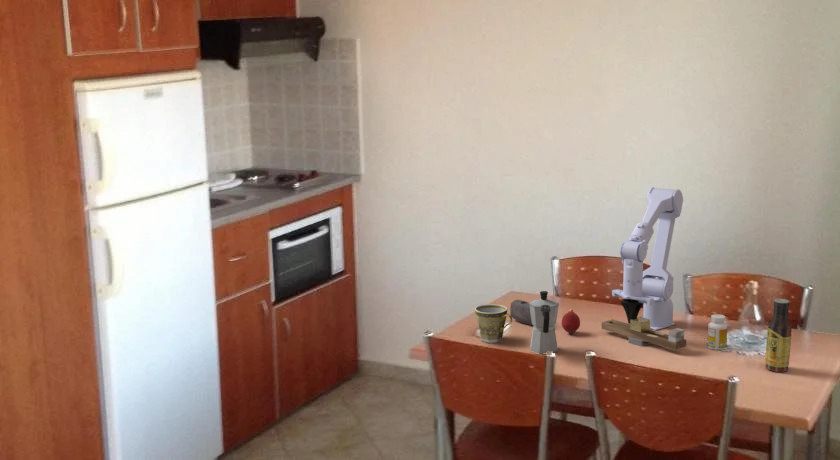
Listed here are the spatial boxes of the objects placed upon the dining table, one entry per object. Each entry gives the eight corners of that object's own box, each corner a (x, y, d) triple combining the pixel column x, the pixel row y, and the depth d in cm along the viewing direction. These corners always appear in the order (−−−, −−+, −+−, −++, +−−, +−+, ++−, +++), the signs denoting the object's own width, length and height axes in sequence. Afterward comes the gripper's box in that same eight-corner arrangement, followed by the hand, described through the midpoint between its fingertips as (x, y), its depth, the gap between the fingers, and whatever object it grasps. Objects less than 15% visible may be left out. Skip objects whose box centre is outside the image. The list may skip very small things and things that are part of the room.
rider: (639, 332, 291) (639, 316, 290) (650, 335, 288) (650, 319, 287) (630, 335, 289) (630, 319, 288) (640, 338, 286) (641, 322, 285)
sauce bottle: (760, 366, 265) (764, 297, 261) (782, 364, 266) (786, 296, 262) (771, 374, 259) (775, 303, 255) (793, 372, 259) (797, 302, 255)
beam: (614, 329, 301) (614, 309, 300) (688, 350, 280) (688, 329, 278) (599, 333, 297) (599, 313, 296) (673, 355, 275) (674, 334, 274)
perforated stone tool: (552, 327, 304) (552, 307, 303) (540, 331, 301) (540, 310, 300) (520, 317, 316) (520, 297, 315) (508, 320, 313) (508, 300, 312)
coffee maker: (527, 343, 290) (527, 286, 286) (556, 342, 289) (556, 285, 286) (531, 359, 275) (531, 299, 271) (561, 359, 275) (562, 299, 271)
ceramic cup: (468, 340, 294) (468, 309, 292) (489, 332, 301) (488, 302, 299) (501, 348, 285) (501, 316, 283) (521, 340, 292) (521, 309, 290)
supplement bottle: (726, 345, 283) (728, 314, 281) (726, 351, 278) (727, 319, 276) (707, 344, 285) (709, 312, 283) (707, 349, 280) (708, 317, 278)
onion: (579, 337, 294) (580, 312, 293) (561, 336, 295) (561, 311, 294) (580, 331, 300) (580, 307, 298) (562, 330, 301) (562, 306, 299)
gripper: (605, 277, 291) (605, 320, 294) (643, 286, 280) (642, 331, 282) (620, 274, 295) (620, 316, 298) (658, 282, 284) (657, 326, 287)
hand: (632, 323), depth 290 cm, fingers closed
